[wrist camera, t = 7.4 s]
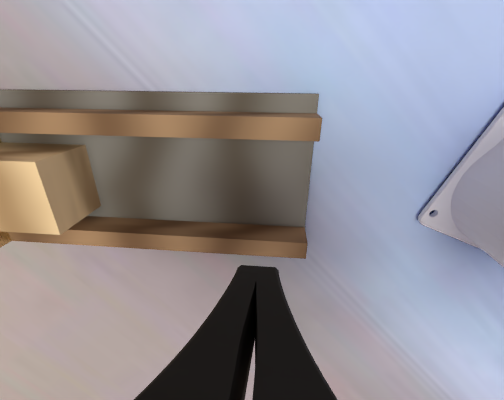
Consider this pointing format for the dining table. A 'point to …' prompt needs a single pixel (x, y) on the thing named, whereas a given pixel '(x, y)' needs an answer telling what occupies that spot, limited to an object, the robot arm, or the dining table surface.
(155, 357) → the dining table surface
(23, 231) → the block
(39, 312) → the dining table surface
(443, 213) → the robot arm
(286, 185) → the channel
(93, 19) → the dining table surface
